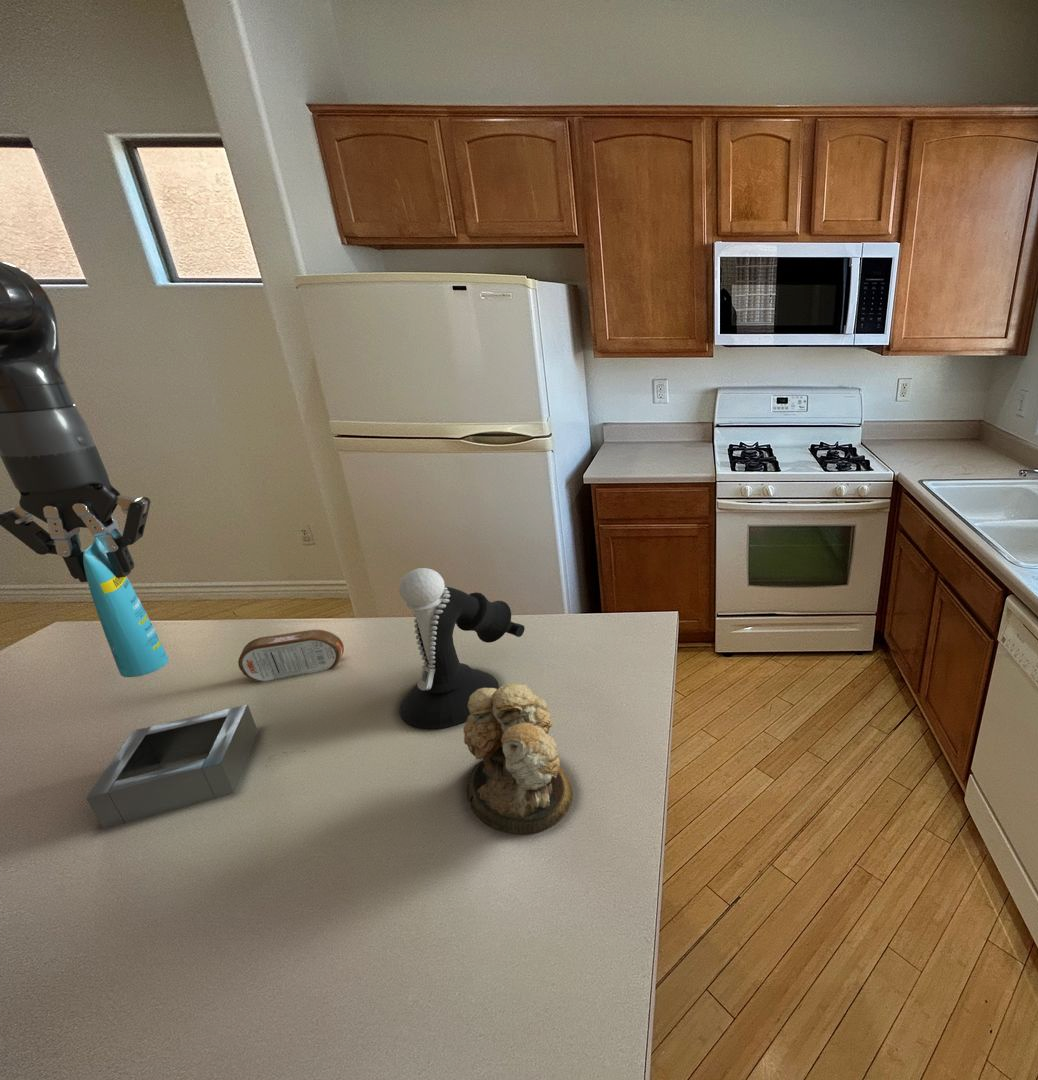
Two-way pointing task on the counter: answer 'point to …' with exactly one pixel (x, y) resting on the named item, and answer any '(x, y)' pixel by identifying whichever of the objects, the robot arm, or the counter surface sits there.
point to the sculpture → (448, 648)
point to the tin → (290, 654)
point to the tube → (122, 617)
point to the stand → (147, 792)
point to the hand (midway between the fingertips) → (106, 576)
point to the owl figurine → (514, 761)
